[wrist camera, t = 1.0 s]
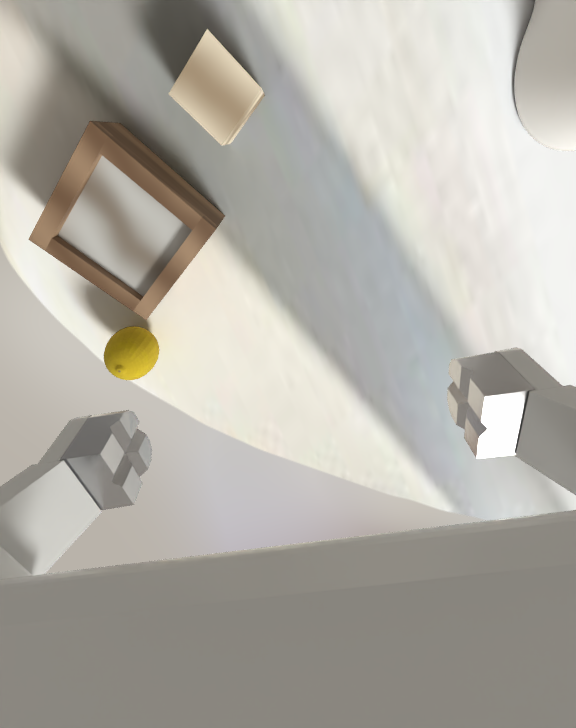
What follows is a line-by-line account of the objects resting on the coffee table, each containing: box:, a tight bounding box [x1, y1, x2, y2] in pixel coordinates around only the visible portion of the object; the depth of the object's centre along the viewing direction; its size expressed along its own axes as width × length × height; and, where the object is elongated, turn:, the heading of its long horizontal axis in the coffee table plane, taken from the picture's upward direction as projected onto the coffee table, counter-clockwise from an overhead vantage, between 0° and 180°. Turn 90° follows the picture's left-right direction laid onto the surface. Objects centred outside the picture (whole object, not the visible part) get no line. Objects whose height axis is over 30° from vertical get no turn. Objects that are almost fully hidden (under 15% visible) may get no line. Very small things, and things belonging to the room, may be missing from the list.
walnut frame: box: [29, 121, 225, 320], centre depth 35 cm, size 12×12×6 cm
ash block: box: [169, 29, 265, 145], centre depth 30 cm, size 5×5×6 cm
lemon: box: [104, 326, 159, 380], centre depth 42 cm, size 6×6×8 cm
